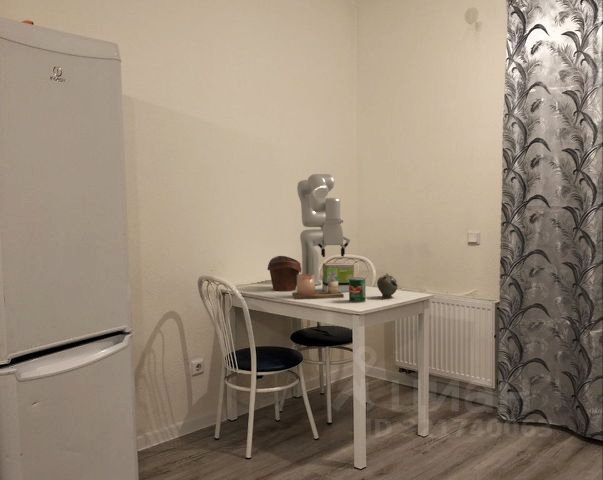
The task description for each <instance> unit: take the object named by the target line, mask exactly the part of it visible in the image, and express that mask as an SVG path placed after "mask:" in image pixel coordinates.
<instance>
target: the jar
mask: <svg viewBox="0 0 603 480" xmlns="http://www.w3.org/2000/svg"><path fill="white" fill-rule="evenodd" d="M296 292H297V295H314V294H315V292H316V285H315V275H313V274H302V273H299V275H297V287H296Z"/></svg>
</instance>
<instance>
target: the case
mask: <svg viewBox="0 0 603 480" xmlns="http://www.w3.org/2000/svg"><path fill="white" fill-rule="evenodd" d="M267 271H269V274H270V280H271V284H272V285H271V286H272V291H277V292H292V291H295V290H297V275H299V274H302V264H301V262H300V261H298V260H296V259H294V258H292V257H289V256H286V255H277V256H274V257H272V258H271V259H270V261H269V262H268V265H267Z"/></svg>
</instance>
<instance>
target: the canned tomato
mask: <svg viewBox="0 0 603 480" xmlns="http://www.w3.org/2000/svg"><path fill="white" fill-rule="evenodd" d="M348 298H349V299H348V300H349V302H350V303H355V304H356V303H358V304H359V303H366V278H365V277H357V276H354V277H353V278H349V292H348Z"/></svg>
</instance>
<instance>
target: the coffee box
mask: <svg viewBox="0 0 603 480" xmlns="http://www.w3.org/2000/svg"><path fill="white" fill-rule="evenodd" d="M321 277H322V281H321V286H322V288H321V289H322V291H328V281H331V279H336V281H338V291H339V292H341V293H349V278H353V277H355V265H354V264H352V263H350V262H324V263H322V276H321Z"/></svg>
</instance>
